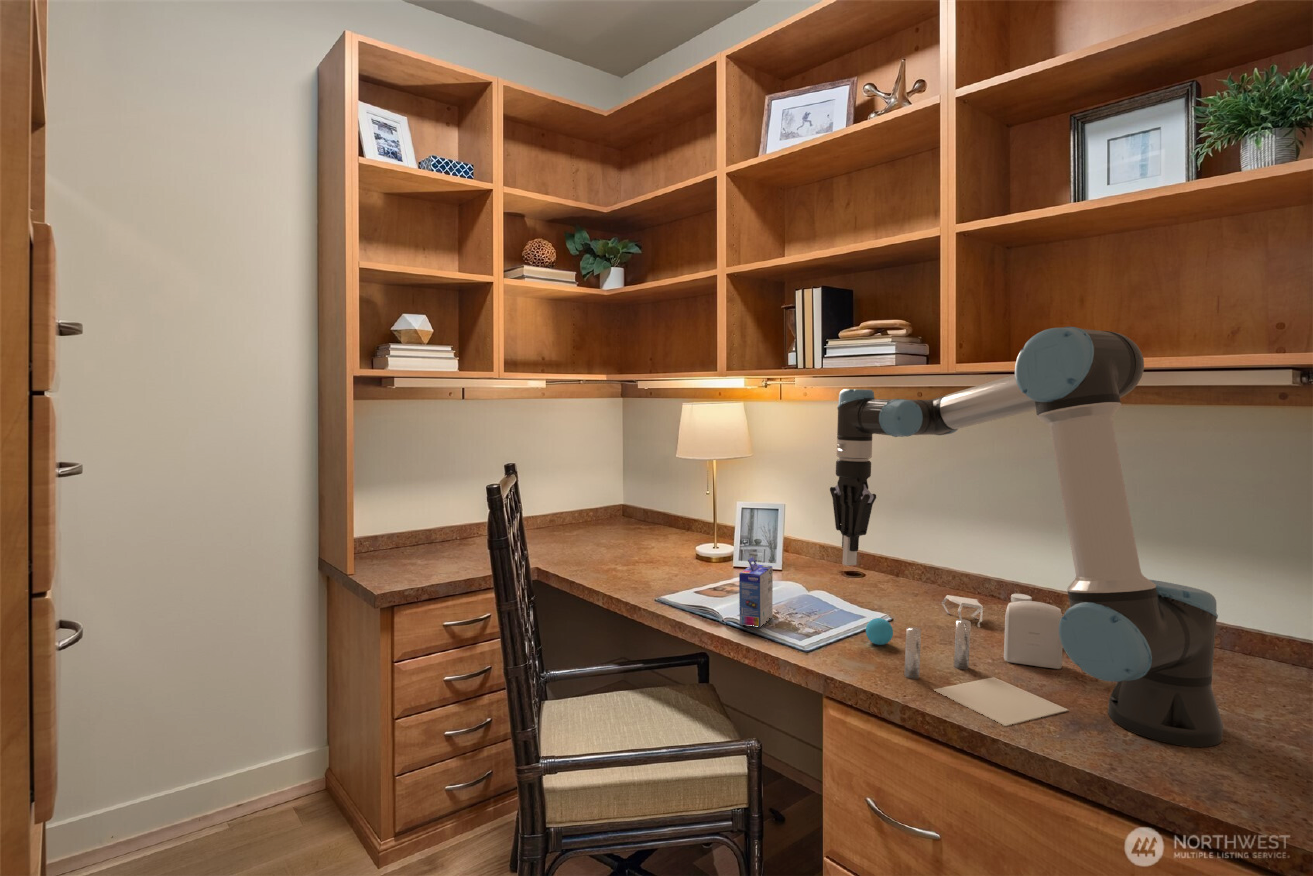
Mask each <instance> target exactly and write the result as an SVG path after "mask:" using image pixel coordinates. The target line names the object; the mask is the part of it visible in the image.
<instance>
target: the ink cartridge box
mask: <svg viewBox="0 0 1313 876" xmlns="http://www.w3.org/2000/svg"><path fill="white" fill-rule="evenodd" d="M747 562H748V564H749V565H748V567H746V568H745V569H744V570H742V571H741V572H739V573H738V574H739V575H738V576H739V577H738V579H739V584H738V585H739V586H738V587H739V593H738V595H739V598H738V599H739V604H738V605H739V626H743V625H752V626H753V625H754V626H758V627H761V626H762V625H763V624H764V625H765V624H766V623H767V622H768V621H770V619H771V618H773V591H774V590H773V585H774V584H773V579H774V578H773V572H774V571H773V568H774V567H773V566H772V565H764V564H758V563H757V561H756V560H755V558H754V556H752V557H750V558H749V559H747ZM752 562H753V563H752ZM769 618H770V619H769ZM766 621H767V622H766ZM764 625H763V626H764ZM763 626H762V627H763ZM762 627H761V628H762Z"/></svg>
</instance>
